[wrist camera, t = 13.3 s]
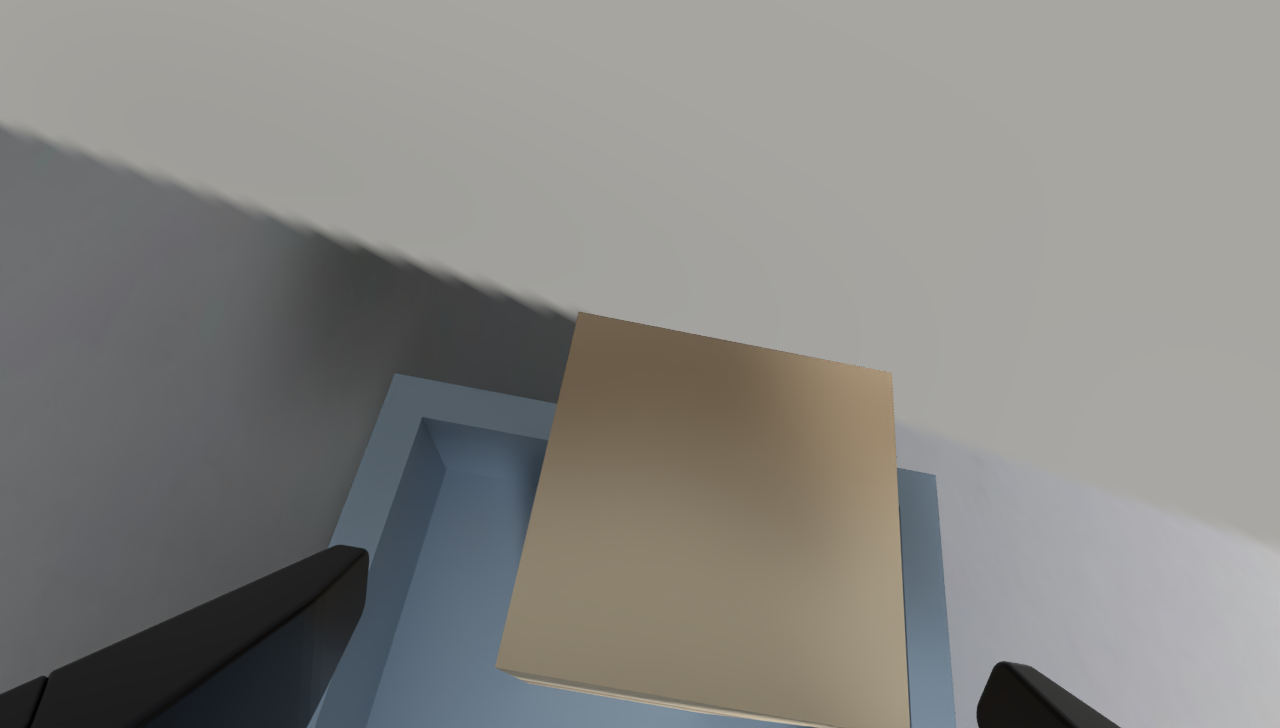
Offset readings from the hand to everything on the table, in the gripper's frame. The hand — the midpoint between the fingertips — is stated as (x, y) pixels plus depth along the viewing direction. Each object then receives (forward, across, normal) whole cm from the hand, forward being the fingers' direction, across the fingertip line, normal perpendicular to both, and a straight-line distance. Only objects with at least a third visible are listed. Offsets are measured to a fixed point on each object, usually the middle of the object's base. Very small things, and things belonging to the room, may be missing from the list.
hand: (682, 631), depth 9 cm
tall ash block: (+8, 0, +5) cm, 9 cm away
